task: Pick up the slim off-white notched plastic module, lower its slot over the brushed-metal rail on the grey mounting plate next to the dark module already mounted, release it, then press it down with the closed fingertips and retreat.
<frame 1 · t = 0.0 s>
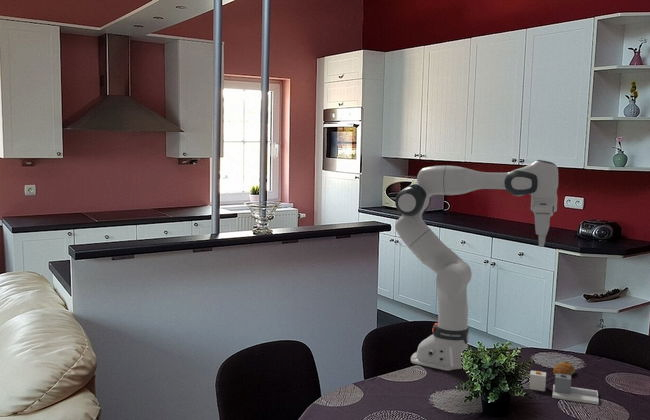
hand: (542, 244, 221), 48 cm above the table, fingers open, 8 cm apart
rail base: (575, 395, 206), on the table
pastry: (563, 374, 227), on the table
module: (537, 388, 213), on the table
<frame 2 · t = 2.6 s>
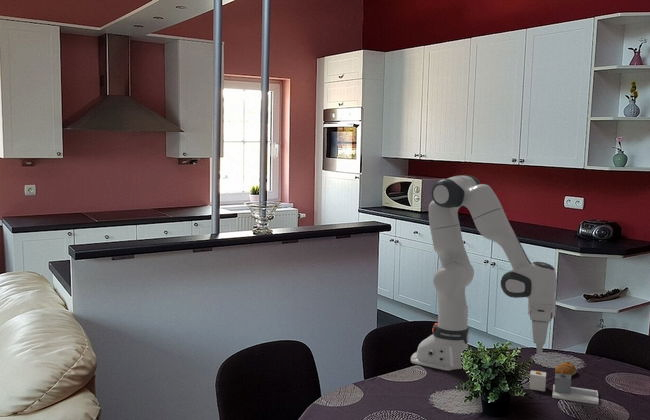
hand: (540, 349, 211), 14 cm above the table, fingers open, 8 cm apart
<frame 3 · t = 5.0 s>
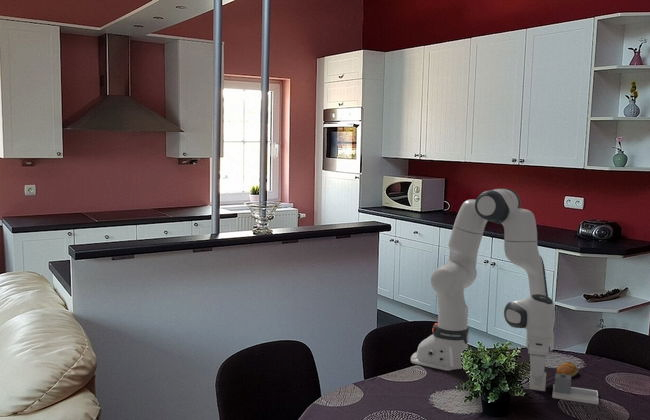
hand: (537, 382, 212), 2 cm above the table, fingers closed on module, 4 cm apart
module: (537, 387, 213), on the table, touching gripper
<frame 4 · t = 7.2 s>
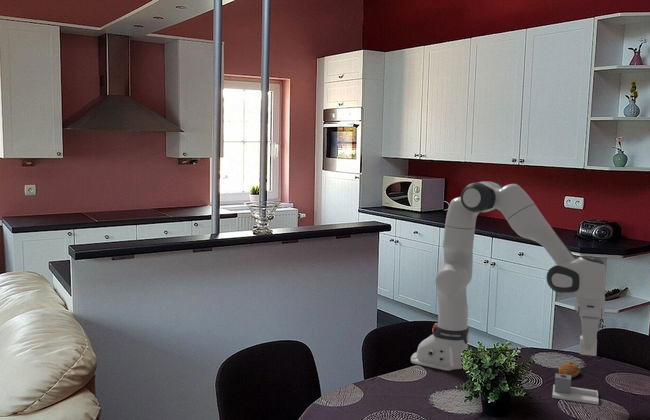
hand: (587, 347, 204), 17 cm above the table, fingers closed on module, 4 cm apart
module: (587, 353, 204), point 15 cm above the table, touching gripper
when the fingers open (3 cm above the table, at t = 9.7 s): module stays where it is, resting on rail base.
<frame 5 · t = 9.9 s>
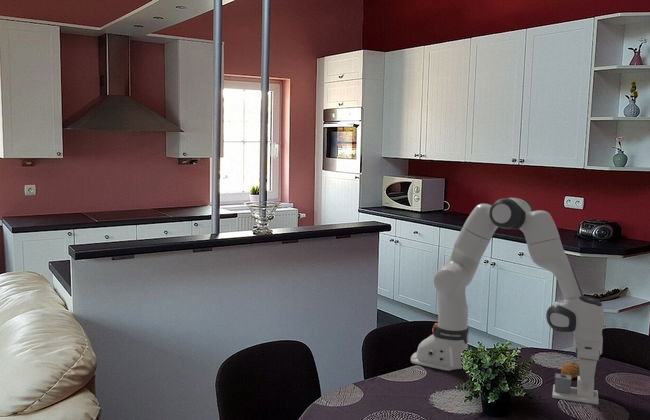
hand: (585, 386, 205), 3 cm above the table, fingers open, 6 cm apart
module: (585, 394, 205), point 1 cm above the table, touching rail base
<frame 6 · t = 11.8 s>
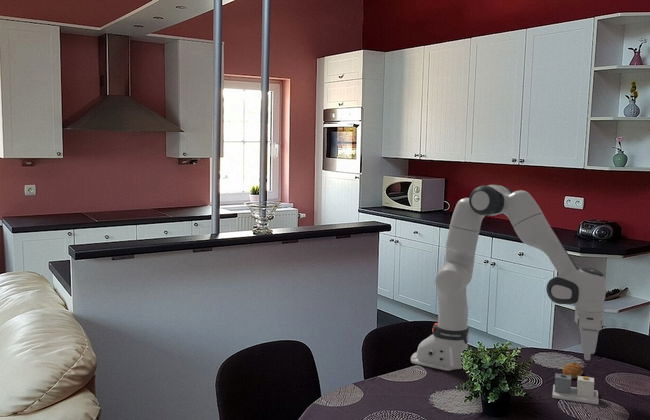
hand: (587, 358, 204), 13 cm above the table, fingers closed
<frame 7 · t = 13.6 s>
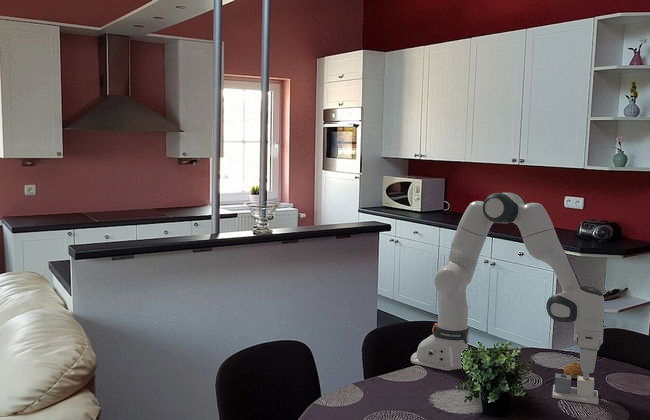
hand: (585, 377, 205), 7 cm above the table, fingers closed, pressing on module
module: (585, 394, 205), point 1 cm above the table, touching gripper, rail base
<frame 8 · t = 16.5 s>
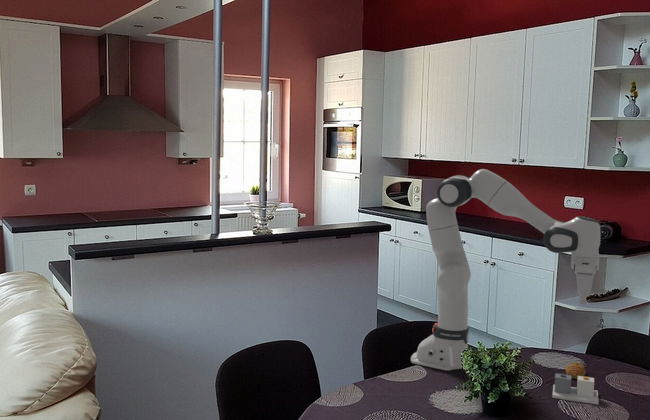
hand: (582, 303, 212), 29 cm above the table, fingers closed
module: (585, 394, 205), point 1 cm above the table, touching rail base
at the end: module 0.1 cm from the target spot on the rail base, point 1.0 cm above the rail base's base; module tilted 0°; the gripper is holding nothing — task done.
